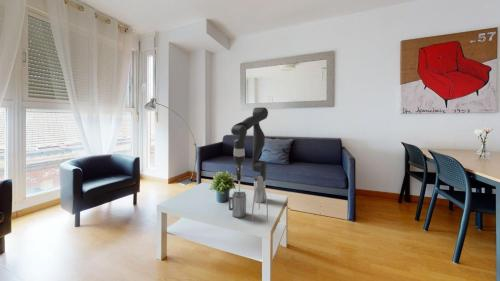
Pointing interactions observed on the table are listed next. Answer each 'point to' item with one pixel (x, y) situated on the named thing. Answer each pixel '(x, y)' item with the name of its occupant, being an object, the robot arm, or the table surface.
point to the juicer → (260, 186)
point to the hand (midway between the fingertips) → (239, 179)
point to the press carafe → (238, 204)
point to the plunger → (239, 184)
